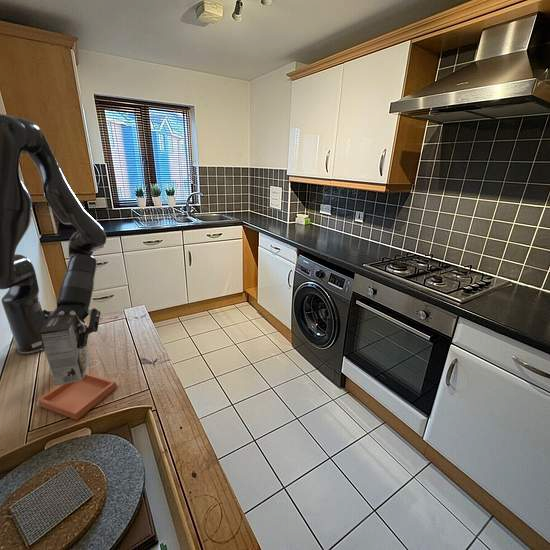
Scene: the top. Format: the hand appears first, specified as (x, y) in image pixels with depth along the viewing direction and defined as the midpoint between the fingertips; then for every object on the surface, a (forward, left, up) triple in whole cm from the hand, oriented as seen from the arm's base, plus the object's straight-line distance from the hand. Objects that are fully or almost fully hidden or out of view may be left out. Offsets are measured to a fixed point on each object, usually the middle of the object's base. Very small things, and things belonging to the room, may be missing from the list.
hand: (63, 349), depth 75 cm
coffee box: (-1, +1, -9) cm, 9 cm away
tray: (-1, +1, -17) cm, 17 cm away
